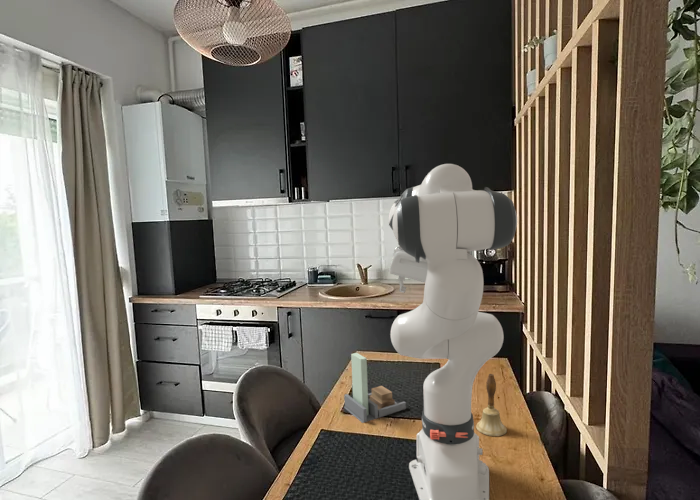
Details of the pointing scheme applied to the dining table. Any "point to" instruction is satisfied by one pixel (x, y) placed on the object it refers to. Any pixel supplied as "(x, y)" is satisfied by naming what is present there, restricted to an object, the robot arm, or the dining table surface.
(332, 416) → the dining table surface
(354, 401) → the charcoal rack
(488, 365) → the dining table surface
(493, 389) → the hand bell
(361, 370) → the sage panel
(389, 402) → the bottom offcut
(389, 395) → the top offcut
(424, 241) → the robot arm
